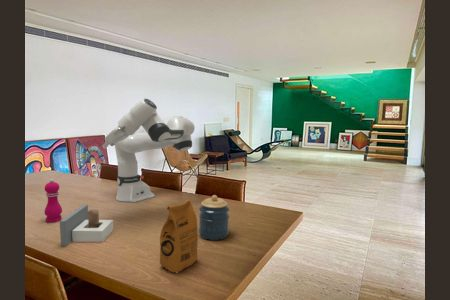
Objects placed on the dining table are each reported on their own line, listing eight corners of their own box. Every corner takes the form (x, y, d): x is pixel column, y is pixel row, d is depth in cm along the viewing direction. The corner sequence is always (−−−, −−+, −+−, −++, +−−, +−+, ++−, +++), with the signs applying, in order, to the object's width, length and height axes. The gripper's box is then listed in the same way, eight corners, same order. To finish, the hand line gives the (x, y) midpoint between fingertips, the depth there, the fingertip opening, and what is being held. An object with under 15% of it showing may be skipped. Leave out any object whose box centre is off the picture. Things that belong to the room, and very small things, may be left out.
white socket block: (113, 230, 129) (113, 219, 128) (102, 242, 117) (102, 231, 116) (86, 230, 129) (85, 219, 128) (72, 242, 117) (72, 230, 116)
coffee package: (155, 266, 100) (155, 204, 97) (181, 252, 110) (181, 196, 107) (175, 276, 94) (176, 210, 91) (201, 261, 104) (202, 201, 101)
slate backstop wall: (88, 225, 132) (87, 204, 131) (66, 246, 113) (65, 221, 111) (84, 225, 132) (83, 204, 131) (61, 246, 112) (59, 221, 111)
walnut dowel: (97, 231, 125) (96, 209, 124) (100, 234, 123) (100, 211, 121) (87, 233, 123) (86, 210, 122) (90, 236, 120) (89, 213, 119)
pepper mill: (44, 224, 133) (41, 181, 131) (45, 218, 140) (43, 178, 137) (62, 221, 137) (60, 180, 134) (62, 216, 143) (60, 176, 140)
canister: (218, 243, 118) (218, 201, 115) (192, 236, 124) (193, 196, 122) (234, 233, 128) (235, 194, 126) (210, 226, 135) (210, 189, 133)
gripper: (125, 132, 128) (103, 154, 128) (138, 129, 148) (119, 148, 149) (115, 122, 127) (93, 144, 128) (129, 120, 147) (110, 139, 148)
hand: (107, 146), depth 138 cm, fingers open, 8 cm apart
